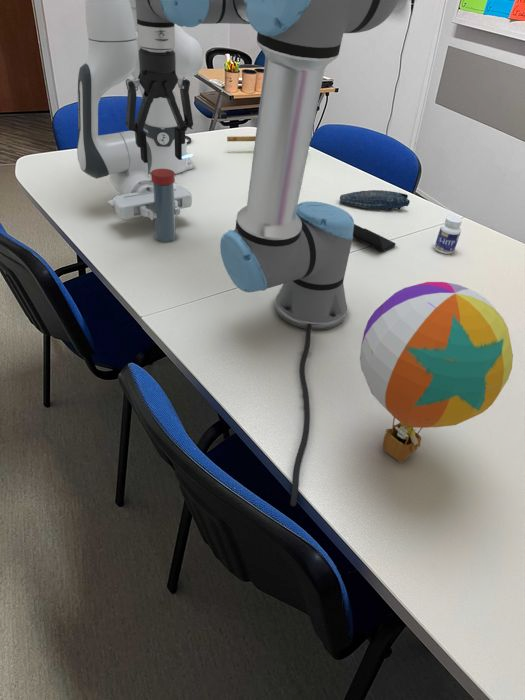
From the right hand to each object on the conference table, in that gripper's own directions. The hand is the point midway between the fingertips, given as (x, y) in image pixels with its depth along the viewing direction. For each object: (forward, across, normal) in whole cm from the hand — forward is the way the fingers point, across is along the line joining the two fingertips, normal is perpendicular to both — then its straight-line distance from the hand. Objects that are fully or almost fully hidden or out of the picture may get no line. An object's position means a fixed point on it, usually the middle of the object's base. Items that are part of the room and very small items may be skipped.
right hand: (161, 159), depth 122 cm
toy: (+19, +11, -83) cm, 86 cm away
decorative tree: (+21, +57, +52) cm, 80 cm away
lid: (+3, 0, 0) cm, 3 cm away
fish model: (+20, +66, -1) cm, 69 cm away
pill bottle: (+20, +68, -31) cm, 77 cm away
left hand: (+13, 0, -1) cm, 13 cm away
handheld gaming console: (+20, +50, -21) cm, 58 cm away
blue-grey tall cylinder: (+20, 0, 0) cm, 20 cm away
